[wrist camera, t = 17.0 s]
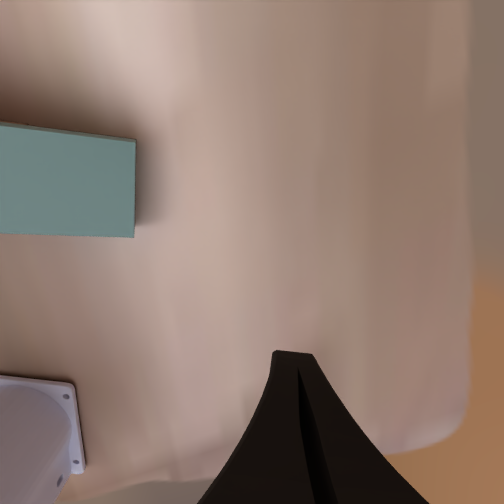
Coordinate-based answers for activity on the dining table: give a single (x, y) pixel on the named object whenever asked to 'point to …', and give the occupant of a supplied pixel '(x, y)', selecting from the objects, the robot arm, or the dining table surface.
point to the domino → (66, 182)
